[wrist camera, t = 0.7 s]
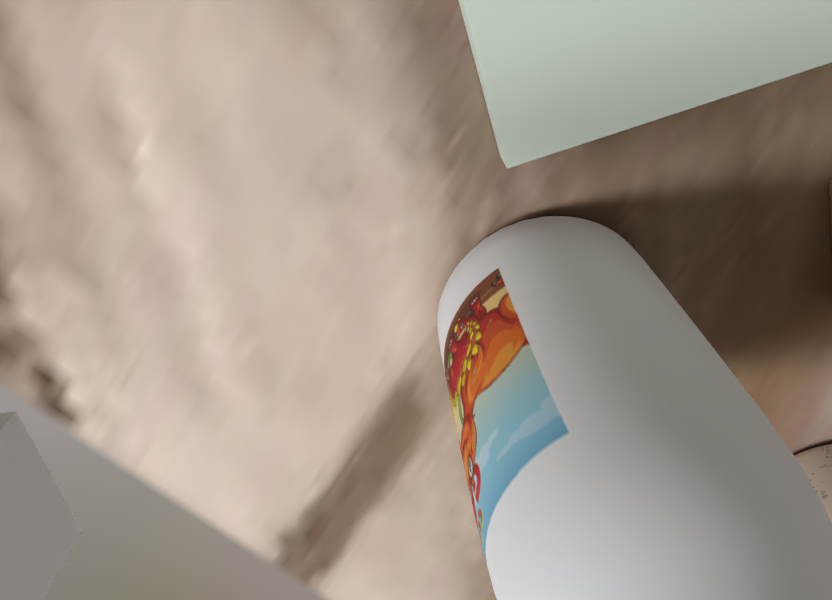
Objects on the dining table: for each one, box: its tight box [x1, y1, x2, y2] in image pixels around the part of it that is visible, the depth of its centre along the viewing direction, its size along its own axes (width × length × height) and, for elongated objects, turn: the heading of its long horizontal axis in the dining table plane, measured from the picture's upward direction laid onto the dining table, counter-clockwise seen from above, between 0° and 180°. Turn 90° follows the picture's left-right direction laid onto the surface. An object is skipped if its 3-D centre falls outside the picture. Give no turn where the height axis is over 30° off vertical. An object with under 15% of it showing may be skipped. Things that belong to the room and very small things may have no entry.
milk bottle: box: [438, 216, 832, 600], centre depth 18 cm, size 8×8×20 cm
